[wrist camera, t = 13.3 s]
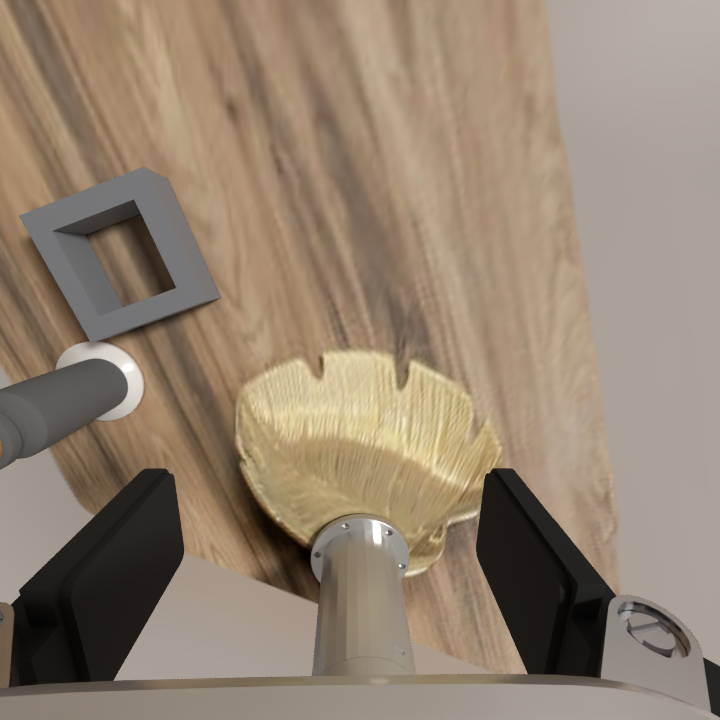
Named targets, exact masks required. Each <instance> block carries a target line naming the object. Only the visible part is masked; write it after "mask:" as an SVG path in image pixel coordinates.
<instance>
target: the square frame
mask: <svg viewBox="0 0 720 720" xmlns="http://www.w3.org/2000/svg"><path fill="white" fill-rule="evenodd" d="M139 214H141V215H142V217H143V219H144V221H145V223H146V225H147V227H148V229H149V232H150V234H151V236H152V238H153V240H154V242H155V244H156V246H157V248H158V250H159V252H160V255H161V257H162V259H163V261H164V263H165V265H166V267H167V269H168V271H169V273H170V275H171V278H172V280H173V282H174V284H175V286H176V288H175V289H172V290H169V291H167V292H164V293H161V294H158V295H156V296H153V297H150V298H148V299H145V300H142V301H139V302H137V303H134V304H131V305H128V306H126V307H123V305H122V303H121V302H120V300H119V298H118V296H117V294H116V292H115V290H114V288H113V286H112V284H111V282H110V281H109V279H108V277H107V275H106V273H105V271H104V269H103V267H102V265H101V263H100V262H99V260H98V258H97V256H96V254H95V252H94V250H93V248H92V246H91V244H90V243H89V241H88V239H87V237H86V235H87V234H90V233H92V232H95V231H97V230H100V229H103V228H105V227H108V226H110V225H113V224H116V223H118V222H121V221H123V220H126V219H129V218H131V217H134V216H137V215H139ZM19 217H20V219H21V220H22V222H23V224H24V226H25V227H26V229H27V231H28V233H29V234H30V236H31V238H32V240H33V241H34V243H35V245H36V247H37V249H38V250H39V252H40V254H41V256H42V257H43V259H44V261H45V263H46V264H47V266H48V268H49V270H50V271H51V273H52V275H53V277H54V279H55V280H56V282H57V284H58V286H59V287H60V289H61V291H62V293H63V294H64V296H65V298H66V300H67V302H68V303H69V305H70V307H71V309H72V310H73V312H74V314H75V316H76V317H77V319H78V321H79V323H80V324H81V326H82V328H83V330H84V332H85V333H86V335H87V337H88V339H89V340H90V342H91V343H92V342H96V341H99V340H102V339H106V338H109V337H113V336H116V335H119V334H122V333H125V332H128V331H130V330H133V329H136V328H139V327H142V326H144V325H147V324H150V323H153V322H155V321H158V320H161V319H164V318H166V317H169V316H172V315H175V314H177V313H180V312H183V311H186V310H189V309H191V308H194V307H197V306H200V305H202V304H205V303H208V302H211V301H213V300H216V299H219V298H221V296H220V294H219V292H218V290H217V287H216V285H215V283H214V281H213V278H212V276H211V274H210V272H209V270H208V267H207V265H206V263H205V261H204V258H203V256H202V254H201V252H200V249H199V247H198V245H197V243H196V240H195V238H194V236H193V234H192V232H191V229H190V227H189V225H188V223H187V220H186V218H185V216H184V214H183V211H182V209H181V207H180V205H179V202H178V200H177V198H176V196H175V194H174V191H173V189H172V187H171V185H170V182H169V180H168V178H166V177H164V176H162V175H160V174H158V173H155V172H153V171H151V170H149V169H147V168H145V167H142V168H140V169H137V170H134V171H132V172H129V173H127V174H124V175H122V176H119V177H117V178H114V179H111V180H109V181H106V182H104V183H101V184H99V185H96V186H94V187H91V188H89V189H86V190H83V191H81V192H78V193H76V194H73V195H71V196H68V197H66V198H63V199H60V200H58V201H55V202H53V203H50V204H48V205H45V206H43V207H40V208H37V209H35V210H32V211H30V212H27V213H25V214H22V215H20V216H19Z"/></svg>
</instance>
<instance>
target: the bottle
mask: <svg viewBox="0 0 720 720" xmlns="http://www.w3.org/2000/svg"><path fill="white" fill-rule="evenodd" d="M127 393H128V382H127V379H126V377H125V375H124V373H123V372H122V371H121V370H120V368H119V367H117V366H116V365H115V364H113V363H112V362H110V361H107V360H104V359H98V358H93V359H88V360H84V361H81V362H78V363H75V364H72V365H69V366H66V367H63V368H60V369H57V370H54V371H51V372H49V373H46V374H43V375H40V376H37V377H34V378H31V379H28V380H25V381H23V382H20V383H17V384H14V385H11V386H8V387H6V388H3V389H0V469H2V468H4V467H6V466H7V465H9V464H11V463H12V462H14V461H15V460H16V459H20V458H27V457H30V456H33V455H35V454H37V453H39V452H41V451H43V450H44V449H46V448H48V447H49V446H51V445H53V444H55V443H56V442H58V441H60V440H61V439H63V438H65V437H67V436H68V435H70V434H72V433H73V432H75V431H77V430H78V429H80V428H82V427H83V426H85V425H87V424H88V423H90V422H92V421H93V420H95V419H97V418H98V417H100V416H102V415H104V414H105V413H107V412H109V411H110V410H112V409H113V408H115V407H117V406H118V405H119V404H121V403H122V402H123V401H124V399H125V398H126V396H127Z"/></svg>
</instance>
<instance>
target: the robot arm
mask: <svg viewBox="0 0 720 720" xmlns="http://www.w3.org/2000/svg"><path fill="white" fill-rule="evenodd" d="M476 552H477V557H478V560H479V563H480V565H481V567H482V570H483V572H484V574H485V577H486V579H487V581H488V583H489V586H490V588H491V590H492V593H493V595H494V597H495V599H496V602H497V604H498V606H499V609H500V611H501V613H502V615H503V618H504V620H505V622H506V625H507V627H508V629H509V631H510V634H511V636H512V638H513V641H514V643H515V645H516V647H517V650H518V652H519V654H520V657H521V659H522V661H523V664H524V666H525V668H526V670H527V673H528V674H449V675H448V674H444V675H443V674H440V675H416V669H415V663H414V657H413V651H412V646H411V638H410V632H409V626H408V620H407V614H406V607H405V601H404V595H403V589H402V583H401V579H402V578H403V577H404V575H405V573H406V571H407V569H408V564H409V550H408V545H407V542H406V540H405V537H404V536H403V534H402V533H401V531H400V530H399V529H398V528H397V527H396V526H395V525H394V524H392V523H391V522H389V521H388V520H385V519H383V518H381V517H378V516H374V515H369V514H354V515H348V516H344V517H341V518H339V519H337V520H334V521H333V522H331V523H330V524H328V525H327V526H325V527H324V528H323V529H322V530H321V532H320V533H319V534H318V536H317V537H316V539H315V541H314V544H313V546H312V552H311V566H312V570H313V573H314V575H315V577H316V578H317V580H318V581H319V582H320V584H321V585H320V595H319V606H318V616H317V627H316V638H315V648H314V659H313V670H312V676H303V677H253V678H251V677H249V678H209V679H208V678H206V679H168V680H125V681H113V680H114V678H115V677H116V675H117V673H118V671H119V670H120V668H121V666H122V664H123V663H124V661H125V659H126V657H127V656H128V654H129V652H130V650H131V649H132V647H133V645H134V643H135V642H136V640H137V638H138V637H139V635H140V633H141V631H142V630H143V628H144V626H145V624H146V623H147V621H148V619H149V617H150V616H151V614H152V612H153V610H154V609H155V607H156V605H157V603H158V602H159V600H160V598H161V596H162V595H163V593H164V591H165V590H166V588H167V586H168V584H169V582H170V581H171V579H172V577H173V576H174V574H175V572H176V570H177V569H178V567H179V565H180V563H181V561H182V558H183V555H184V544H183V536H182V529H181V522H180V515H179V508H178V500H177V493H176V486H175V479H174V476H173V474H169V472H168V470H167V469H144V470H142V471H141V472H140V473H139V474H138V475H137V476H136V477H135V478H134V479H133V480H132V481H131V482H130V483H129V484H128V485H127V486H126V487H124V488H123V489H122V490H121V491H120V492H119V493H118V494H117V495H116V496H115V497H114V498H113V499H112V500H111V501H110V502H109V503H108V504H107V505H106V506H105V507H104V508H103V509H102V510H101V511H100V512H99V513H98V514H97V515H96V516H95V517H94V518H93V519H92V520H91V521H90V522H89V523H87V525H85V526H84V527H83V528H82V529H81V530H80V531H79V532H78V533H77V534H76V535H75V536H74V537H73V538H72V539H71V540H70V541H69V542H68V543H67V544H66V545H65V546H64V547H63V548H62V549H61V550H60V551H59V552H58V553H57V554H56V555H55V556H54V557H53V558H52V559H50V561H48V562H47V564H45V566H43V567H42V568H41V569H40V570H39V571H38V572H37V573H36V574H35V575H34V576H33V577H32V578H31V579H30V580H29V581H28V582H27V583H26V584H25V585H24V586H23V587H22V588H21V589H20V590H19V592H20V596H19V597H18V598H17V599H16V600H15V601H14V602H13V603H12V604H11V605H9V604H7V603H1V602H0V720H720V666H718V665H716V664H714V663H713V662H711V661H709V660H707V659H705V658H703V655H702V651H701V648H700V645H699V643H698V641H697V639H696V638H695V636H694V635H693V634H692V632H691V631H690V630H689V629H688V628H687V627H686V626H685V625H684V624H683V623H682V622H681V621H680V620H679V619H678V618H677V617H675V616H674V615H673V614H671V613H670V612H668V611H667V610H666V609H664V608H662V607H661V606H659V605H657V604H655V603H653V602H651V601H648V600H646V599H643V598H640V597H636V596H631V595H620V596H616V595H615V594H614V592H613V591H612V590H611V589H610V588H609V586H608V585H607V584H606V583H605V581H604V580H603V579H602V578H601V576H600V575H599V574H598V573H597V571H596V570H595V569H594V568H593V567H592V565H591V564H590V563H589V562H588V560H587V559H586V558H585V557H584V555H583V554H582V553H581V552H580V550H579V549H578V548H577V547H576V545H575V544H574V543H573V542H572V541H571V539H570V538H569V537H568V536H567V534H566V533H565V532H564V531H563V529H562V528H561V527H560V526H559V524H558V523H557V522H556V521H555V520H554V519H553V518H552V517H551V515H550V514H549V513H548V512H547V510H546V509H545V508H544V507H543V505H542V504H541V503H540V502H539V500H538V499H537V498H536V497H535V495H534V494H533V493H532V492H531V491H530V489H529V488H528V487H527V486H526V484H525V483H524V482H523V481H522V479H521V478H520V477H519V476H518V474H517V473H516V472H515V471H514V470H513V469H511V468H493V469H492V470H491V472H490V473H487V474H486V475H485V479H484V487H483V495H482V503H481V511H480V519H479V527H478V535H477V544H476Z"/></svg>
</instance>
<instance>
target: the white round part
mask: <svg viewBox="0 0 720 720" xmlns="http://www.w3.org/2000/svg"><path fill="white" fill-rule="evenodd" d="M93 358H98V359H104V360H107V361H110V362H112V363H113V364H115V365H116V366H117V367H119V368H120V370H121V371H122V372H123V373H124V375H125V377H126V379H127V382H128V393H127V396H126V398H125V399H124V401H123V402H122V403H121V404H119V405H118V406H117V407H115V408H113V409H112V410H110V411H109V412H107V413H105V414H104V415H102V416H100V417H98V418H97V419H95V420H101V421H111V420H116V419H120V418H122V417H124V416H126V415H128V414H129V413H131V412H132V411H133V410H135V409H136V408H137V407H138V406H139V404H140V403H141V401H142V399H143V397H144V393H145V379H144V375H143V372H142V370H141V368H140V366H139V364H138V363H137V361H136V360H135V359H134V358H133V357H132V356H131V355H130V354H129V353H128V352H127V351H125V350H124V349H122V348H121V347H119V346H117V345H115V344H112V343H109V342H105V341H96V342H92V343H91V342H90V341H87V342H83V343H80V344H76V345H74V346H72V347H70V348H69V349H67V350H66V351H65V352H64V353H63V354H62V355H61V356H60V358H59V360H58V362H57V365H56V369H55V370H57V369H60V368H63V367H66V366H69V365H72V364H75V363H78V362H81V361H84V360H88V359H93Z"/></svg>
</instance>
